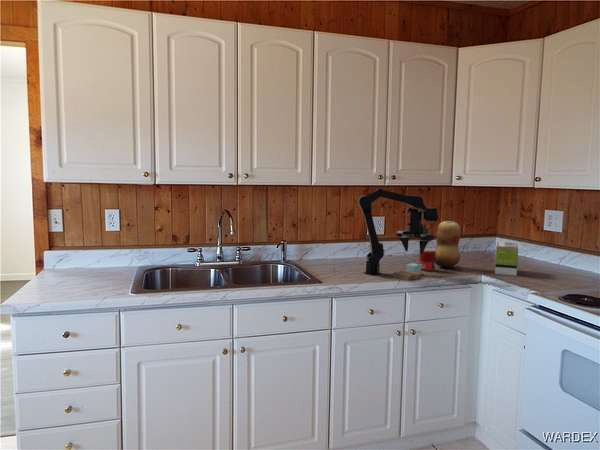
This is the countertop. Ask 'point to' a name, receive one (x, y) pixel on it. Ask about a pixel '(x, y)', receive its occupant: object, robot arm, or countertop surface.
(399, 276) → the walnut base
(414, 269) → the teal block
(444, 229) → the butternut squash
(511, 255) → the tea box
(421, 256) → the canned food
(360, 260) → the countertop surface
